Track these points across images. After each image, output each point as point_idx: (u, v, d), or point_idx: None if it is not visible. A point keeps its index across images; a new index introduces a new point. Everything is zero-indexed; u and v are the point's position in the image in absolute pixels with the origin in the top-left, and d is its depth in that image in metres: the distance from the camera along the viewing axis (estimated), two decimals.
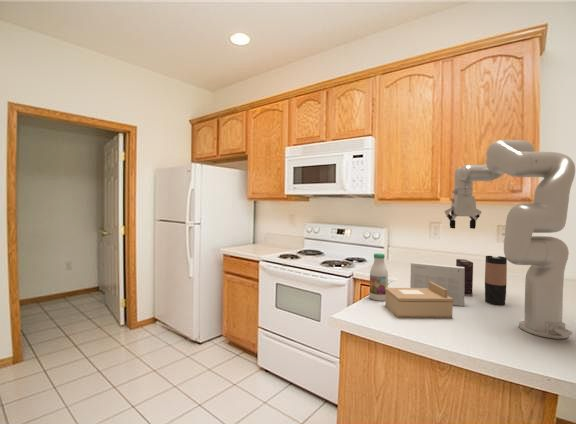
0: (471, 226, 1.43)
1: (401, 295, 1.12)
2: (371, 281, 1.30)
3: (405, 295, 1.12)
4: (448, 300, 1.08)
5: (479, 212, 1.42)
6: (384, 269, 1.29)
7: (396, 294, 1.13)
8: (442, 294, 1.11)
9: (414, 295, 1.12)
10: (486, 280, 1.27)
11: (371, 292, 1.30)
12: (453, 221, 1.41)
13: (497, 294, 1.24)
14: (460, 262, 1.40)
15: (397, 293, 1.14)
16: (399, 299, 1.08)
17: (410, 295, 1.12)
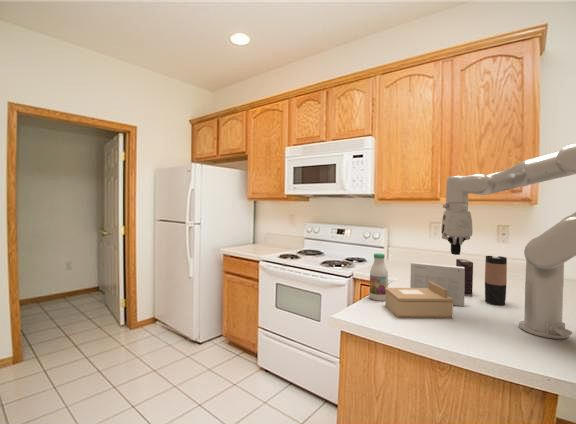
0: None
1: (401, 295, 1.12)
2: (371, 281, 1.30)
3: (405, 295, 1.12)
4: (448, 300, 1.08)
5: (468, 237, 1.15)
6: (384, 269, 1.29)
7: (396, 294, 1.13)
8: (442, 294, 1.11)
9: (414, 295, 1.12)
10: (486, 280, 1.27)
11: (371, 292, 1.30)
12: (455, 246, 1.14)
13: (497, 294, 1.24)
14: (460, 262, 1.40)
15: (397, 293, 1.14)
16: (399, 299, 1.08)
17: (410, 295, 1.12)
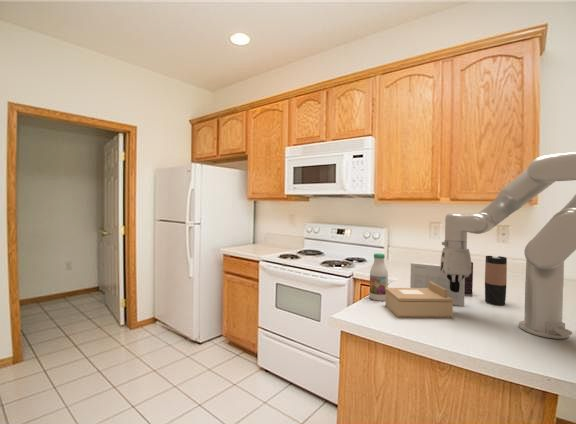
0: None
1: (401, 295, 1.12)
2: (371, 281, 1.30)
3: (405, 295, 1.12)
4: (448, 300, 1.08)
5: (466, 274, 1.15)
6: (384, 269, 1.29)
7: (396, 294, 1.13)
8: (442, 294, 1.11)
9: (414, 295, 1.12)
10: (486, 280, 1.27)
11: (371, 292, 1.30)
12: (454, 283, 1.15)
13: (497, 294, 1.24)
14: None
15: (397, 293, 1.14)
16: (399, 299, 1.08)
17: (410, 295, 1.12)
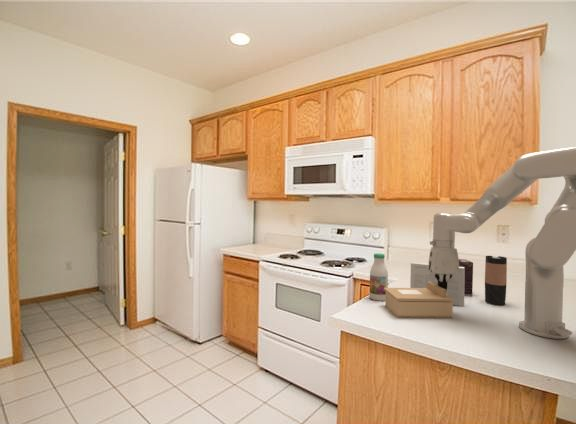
0: None
1: (400, 295, 1.12)
2: (371, 281, 1.30)
3: (404, 295, 1.12)
4: (446, 300, 1.08)
5: (454, 274, 1.15)
6: (384, 269, 1.29)
7: (395, 294, 1.13)
8: (441, 294, 1.11)
9: (413, 295, 1.12)
10: (486, 280, 1.27)
11: (371, 292, 1.30)
12: (442, 283, 1.15)
13: (497, 294, 1.24)
14: (460, 262, 1.40)
15: (395, 293, 1.14)
16: (397, 299, 1.08)
17: (409, 295, 1.12)
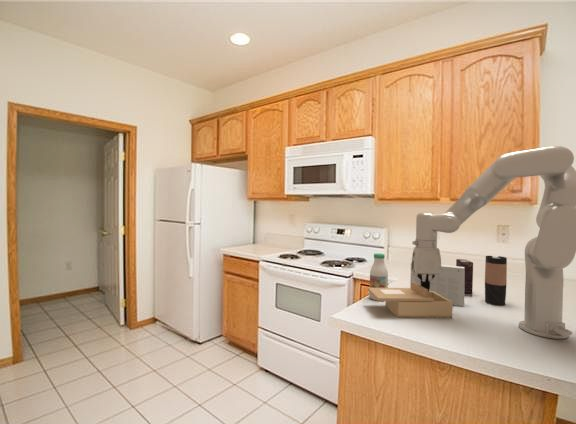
0: None
1: (382, 295, 1.12)
2: (371, 281, 1.30)
3: (386, 295, 1.12)
4: (428, 300, 1.08)
5: (437, 274, 1.15)
6: (384, 269, 1.29)
7: (377, 294, 1.13)
8: (422, 294, 1.11)
9: (395, 295, 1.12)
10: (486, 280, 1.27)
11: None
12: (424, 283, 1.14)
13: (497, 294, 1.24)
14: (460, 262, 1.40)
15: (378, 293, 1.14)
16: (379, 299, 1.08)
17: (391, 295, 1.12)
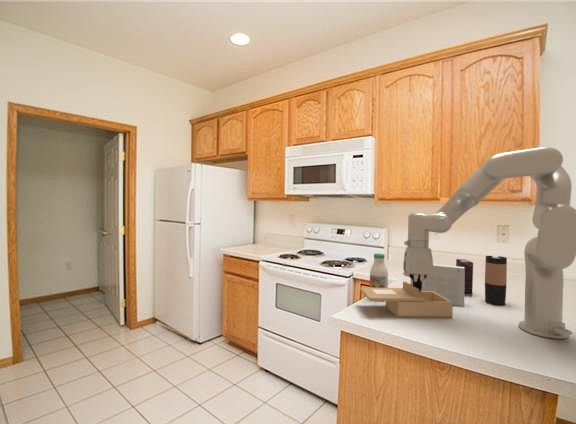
0: None
1: (373, 295, 1.12)
2: (371, 281, 1.30)
3: (377, 295, 1.12)
4: (419, 300, 1.08)
5: (429, 274, 1.15)
6: (384, 269, 1.29)
7: (368, 294, 1.13)
8: (414, 294, 1.11)
9: (386, 295, 1.12)
10: (486, 280, 1.27)
11: None
12: (416, 283, 1.14)
13: (497, 294, 1.24)
14: (460, 262, 1.40)
15: (369, 293, 1.14)
16: (370, 299, 1.08)
17: (382, 295, 1.12)
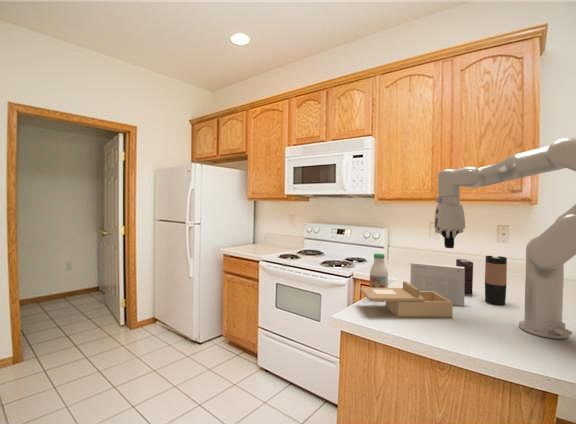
0: None
1: (373, 295, 1.12)
2: (371, 281, 1.30)
3: (377, 295, 1.12)
4: (419, 300, 1.08)
5: (460, 230, 1.15)
6: (384, 269, 1.29)
7: (368, 294, 1.13)
8: (414, 294, 1.11)
9: (386, 295, 1.12)
10: (486, 280, 1.27)
11: None
12: (448, 239, 1.15)
13: (497, 294, 1.24)
14: (460, 262, 1.40)
15: (369, 293, 1.14)
16: (370, 299, 1.08)
17: (382, 295, 1.12)
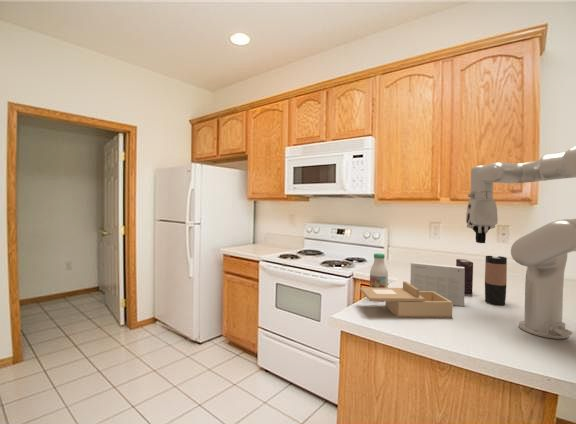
0: None
1: (373, 295, 1.12)
2: (371, 281, 1.30)
3: (377, 295, 1.12)
4: (419, 300, 1.08)
5: (492, 226, 1.17)
6: (384, 269, 1.29)
7: (368, 294, 1.13)
8: (414, 294, 1.11)
9: (386, 295, 1.12)
10: (486, 280, 1.27)
11: None
12: (480, 234, 1.16)
13: (497, 294, 1.24)
14: (460, 262, 1.40)
15: (369, 293, 1.14)
16: (370, 299, 1.08)
17: (382, 295, 1.12)
